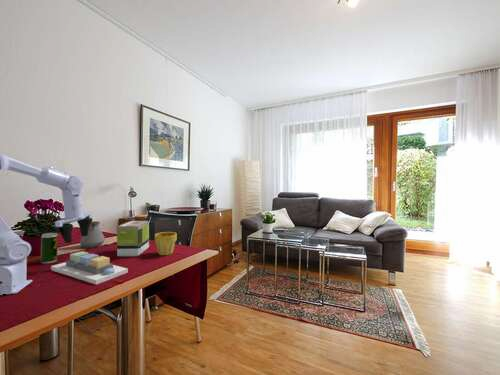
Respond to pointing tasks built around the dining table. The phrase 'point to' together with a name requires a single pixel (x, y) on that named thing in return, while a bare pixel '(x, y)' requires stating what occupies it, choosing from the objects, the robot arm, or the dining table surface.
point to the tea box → (132, 238)
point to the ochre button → (99, 262)
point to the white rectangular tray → (89, 271)
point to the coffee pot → (93, 236)
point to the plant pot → (165, 242)
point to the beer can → (49, 248)
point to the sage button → (77, 256)
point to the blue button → (87, 259)
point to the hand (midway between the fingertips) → (76, 239)
